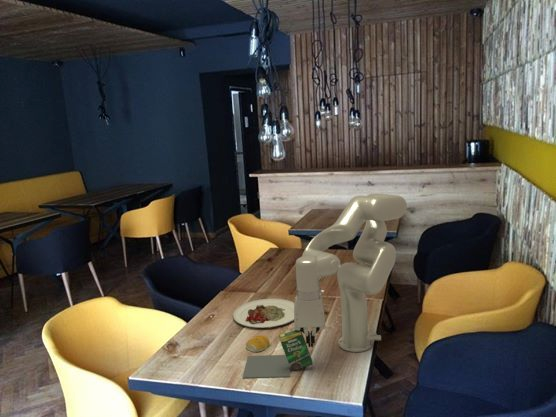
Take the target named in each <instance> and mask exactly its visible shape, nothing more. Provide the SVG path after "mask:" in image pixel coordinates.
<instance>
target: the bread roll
mask: <svg viewBox="0 0 556 417" xmlns="http://www.w3.org/2000/svg"><path fill="white" fill-rule="evenodd" d="M270 345H271V344H270V340H269V338H268V337H267V336H266V335H263V334H260V335H255V336H253V337H252V338H251V339H248V340H246V344H245V348H246V350H247V351H249V352H253V353H258V352H259V353H260V352H262V351H264V350H265V349H267V348H268V347H270Z"/></svg>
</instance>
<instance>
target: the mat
mask: <svg viewBox="0 0 556 417" xmlns="http://www.w3.org/2000/svg"><path fill="white" fill-rule="evenodd" d="M291 372H292V370H291V368H290V365H289V363H288V360H287V357H286V355H285V354H271V355H270V354H268V355H266V354H265V355H264V354H263V355H248V356H247V359H246V362H245V367H244V371H243V374H242V379H243V380H244V379H273V378H274V379H275V378H279V379H280V378H290V377H291Z"/></svg>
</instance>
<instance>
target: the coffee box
mask: <svg viewBox="0 0 556 417" xmlns="http://www.w3.org/2000/svg"><path fill="white" fill-rule="evenodd" d="M303 334H304V333H303V332H301V331H300V330H295V329H294V330H291V331H288V332H285V333H282V334H279V335H278V338H279V342H280V344H281V347H282V350H283V352H284V355H286V357H287V360H288V363H289V365H290V368H291V372H294V371H297V370H299V369H303V368H306V367H310V366H312V365H314V362H313V359H312V356H311V354H310V351H309V347H308V346H307V345H308V344H306V338H305V337H304V335H303Z"/></svg>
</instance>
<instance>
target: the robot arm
mask: <svg viewBox="0 0 556 417" xmlns="http://www.w3.org/2000/svg"><path fill="white" fill-rule="evenodd" d="M407 208H408V206H407V202H406V199H405V198H404V196H402V195H397V194H386V193H370V194H367V195H355V196H353V197H352V198H351V199H350V201H349V202H348V203H347V204H346V206H345V208H344V209H343V211H342V212H341V214H340V215H339V217H338V218H337V220H336V221H335V222H334V223H333V224H332V225H331V226H329V227H327V228H326V229H324V230H322V231H320V232H319V233H317V234H316V235H314V237H313V238H312V239H311V240H310V242H309V243H308V244H307V246H306V247H305V249H304V251H303V252H302V255H301V256H300V257H298V258H296V261H295V277H296V278H295V279H296V282H295V283H296V296H295V297H294V320H293V321H294V325H293V329H294V330H300V331H301V332H302V334H304V336H305V342H306V345H308V346H307V348H314V344H316V341H315V340H316V337H315V336H316V335H317V333H318V332H319V331H321V330H326V328H327V327H326V321H325V320H326V319H325V307H324V306H325V305H324V299H323V296H322V295H324V294H325V290H324V289H321V288H320V278H323V277H325V278H326V277H330V276H334V275H336V279H337V280H336V281H337V284H338V288H339V292H340V304H341V306H340V309H341V310H340V311H341V314H340V315H341V331H342V332H341V334H342V336H340V338H339V339H338V346H339V348H341V349H342V350H345V351H347V352H352V353H360V352H361V353H362V352H365V351H368V350H370V349H371V348H372V347H373V342H374V341H376V342H377V341H382V336H381V334H377V332H369V325H368V324H369V322H368V321H369V320H368V299H367V295H370V296H375V295H377V294H379V293H380V292H382V289H383V288H384V286H385V284H386V282H387V280H388V278H389V276H390V275H391V272H392V270H393V267H394V265H395V263H396V258H397V250H396V248H395V246H394V245H393V244H392V243H390V242H387V241H385V240H386V237H387V233H388V228H387V225H386V223H385V221H388V222H389V221H392V220H393V221H394V220H398V219H401V218H402V217H403V216H404V215H405V214H406V212H407ZM364 224H365V227H364V229H363V230H362V232H361V235H360V237H359V238H358V240H357V242H356V244H355V246H354V248H353V251H352V257H353V258H354V260H355V261H356V262H358V263H355V262H344V263H342V262H341V260H340V258H339V257H338V256H337V255H336V254H333V253H330V252H327V251H325V250H327V249H328V248H330V247H332V246H334V245H338V244H342V243H346V242H349V241H352V240H353V239H355V237H356V236H357V235H358V233H359V232H360V230H361V228H362V226H363V225H364ZM341 263H342V264H341ZM360 263H361V264H360ZM309 328H311V331H309Z"/></svg>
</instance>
